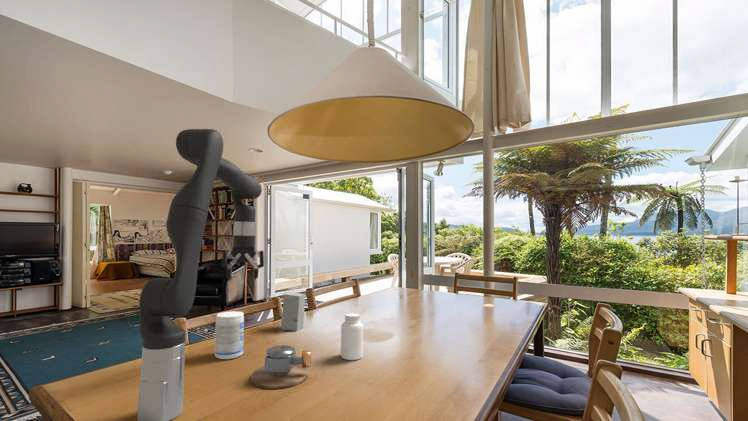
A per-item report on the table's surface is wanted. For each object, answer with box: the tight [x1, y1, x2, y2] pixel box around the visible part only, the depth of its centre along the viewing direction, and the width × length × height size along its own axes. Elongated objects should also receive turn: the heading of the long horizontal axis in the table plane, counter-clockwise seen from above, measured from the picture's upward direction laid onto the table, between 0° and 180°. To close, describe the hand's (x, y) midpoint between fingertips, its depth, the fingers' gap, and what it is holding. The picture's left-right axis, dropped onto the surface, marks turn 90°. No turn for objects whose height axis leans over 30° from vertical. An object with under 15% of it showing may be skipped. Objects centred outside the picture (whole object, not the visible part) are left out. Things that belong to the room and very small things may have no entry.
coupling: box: [264, 345, 312, 372], centre depth 113 cm, size 14×9×5 cm, turn 90°
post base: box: [250, 365, 309, 390], centre depth 113 cm, size 18×17×6 cm
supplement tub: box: [214, 310, 245, 360], centre depth 130 cm, size 10×10×15 cm
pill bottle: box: [340, 313, 364, 361], centre depth 131 cm, size 8×8×15 cm
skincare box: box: [280, 292, 306, 332], centre depth 165 cm, size 8×7×16 cm
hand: (242, 279), depth 131 cm, fingers open, 8 cm apart
